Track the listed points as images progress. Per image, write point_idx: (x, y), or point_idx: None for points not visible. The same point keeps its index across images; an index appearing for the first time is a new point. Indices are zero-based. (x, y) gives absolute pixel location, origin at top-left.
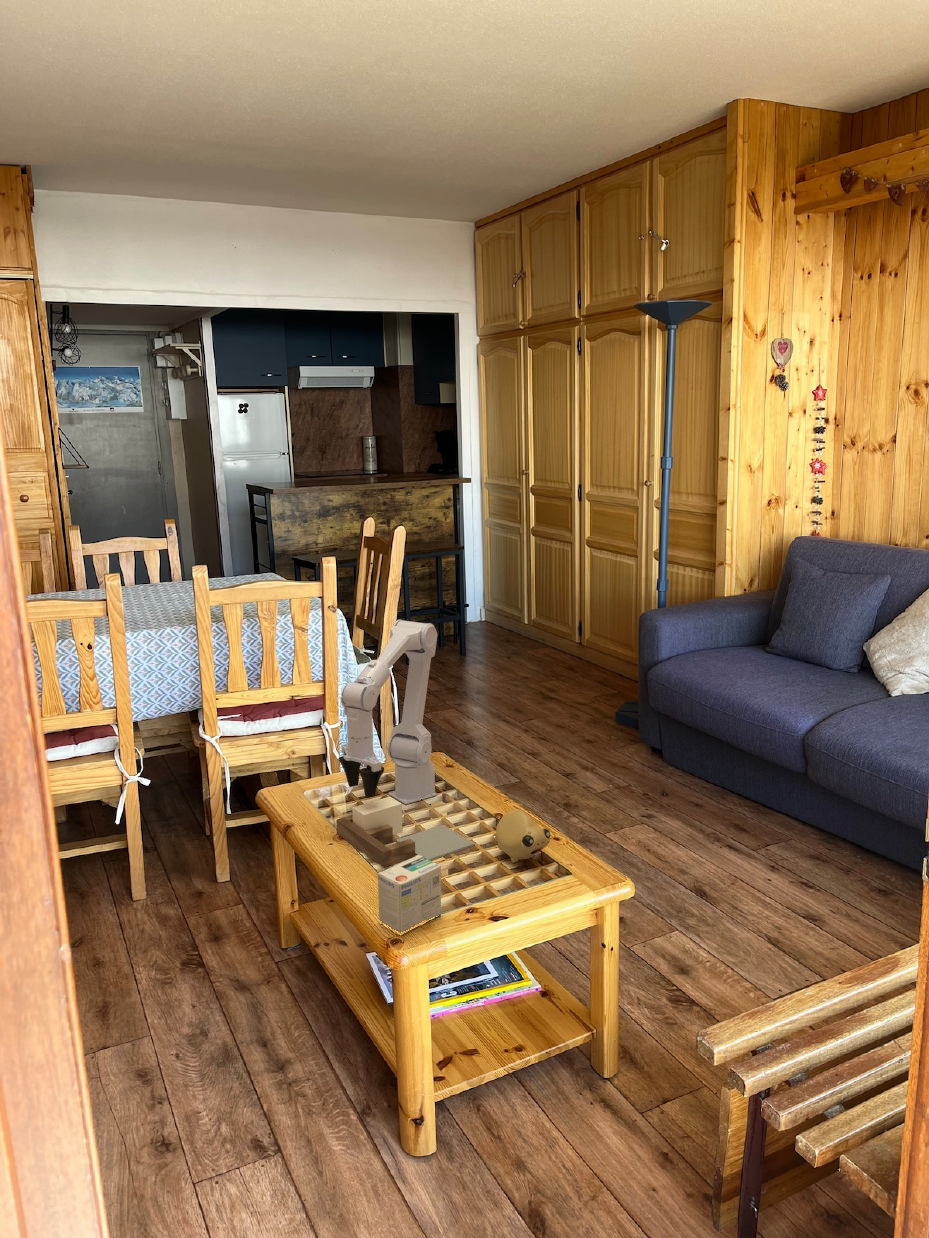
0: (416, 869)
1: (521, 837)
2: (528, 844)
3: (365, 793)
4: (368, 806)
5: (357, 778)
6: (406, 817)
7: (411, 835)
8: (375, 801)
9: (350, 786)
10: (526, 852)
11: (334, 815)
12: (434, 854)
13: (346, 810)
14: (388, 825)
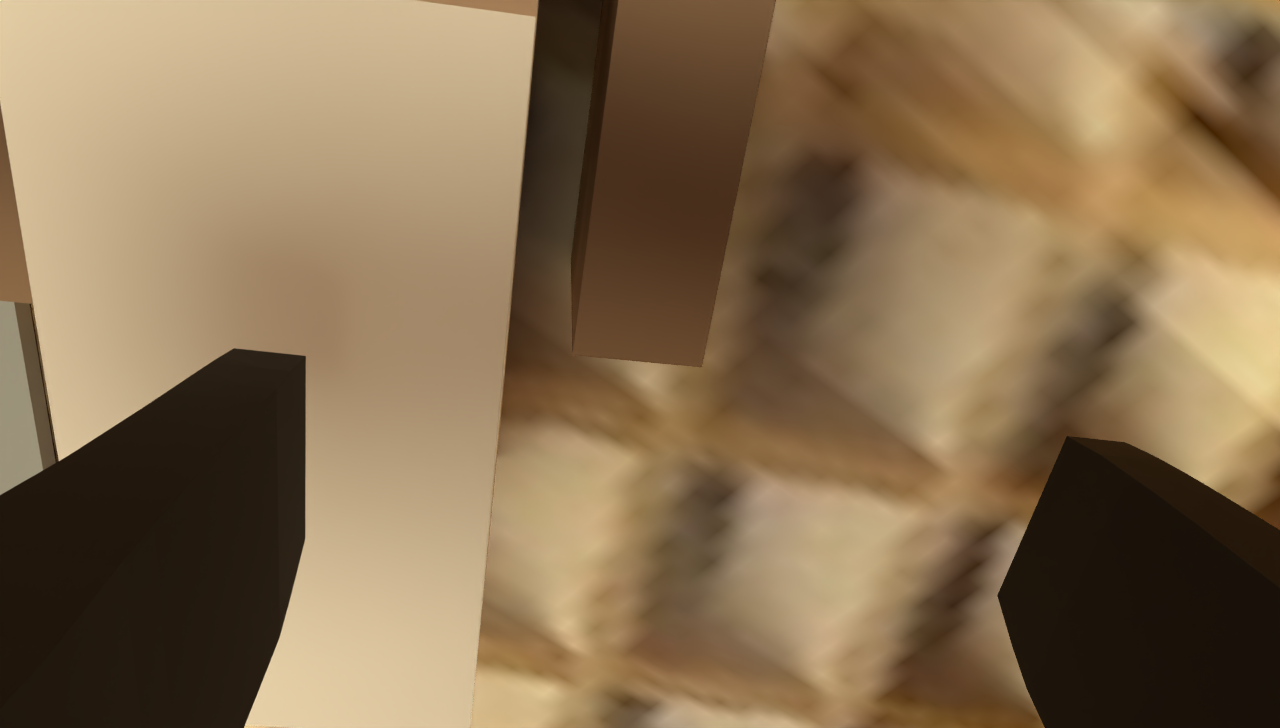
0: None
1: None
2: None
3: (202, 386)
4: (350, 296)
5: (1069, 715)
6: (511, 638)
7: (20, 435)
8: (460, 502)
9: (1070, 446)
10: None
11: (1202, 140)
12: None
13: (1159, 326)
14: (30, 288)
